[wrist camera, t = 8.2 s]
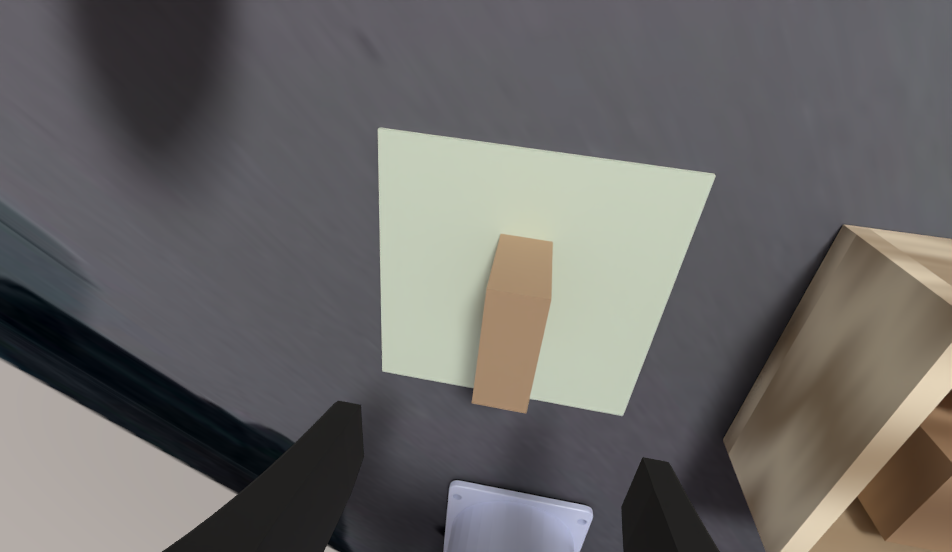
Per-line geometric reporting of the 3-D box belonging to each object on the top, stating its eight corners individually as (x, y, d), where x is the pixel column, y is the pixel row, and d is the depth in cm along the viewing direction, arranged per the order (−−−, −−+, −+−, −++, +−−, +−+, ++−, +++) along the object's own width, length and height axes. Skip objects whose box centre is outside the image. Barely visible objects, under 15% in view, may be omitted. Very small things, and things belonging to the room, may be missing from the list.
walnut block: (927, 464, 19) (1009, 565, 15) (826, 446, 19) (884, 541, 16) (992, 396, 17) (1103, 495, 13) (878, 378, 17) (958, 469, 14)
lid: (620, 403, 22) (635, 494, 18) (387, 360, 23) (350, 437, 18) (708, 168, 16) (762, 224, 11) (385, 123, 17) (328, 161, 12)
